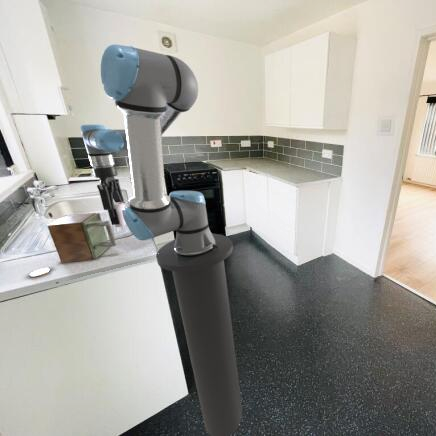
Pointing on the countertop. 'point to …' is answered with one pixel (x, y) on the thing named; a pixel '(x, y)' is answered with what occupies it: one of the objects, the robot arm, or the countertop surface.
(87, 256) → the cabinet
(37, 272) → the coaster
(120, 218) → the smoothie
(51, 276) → the countertop surface
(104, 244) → the door
